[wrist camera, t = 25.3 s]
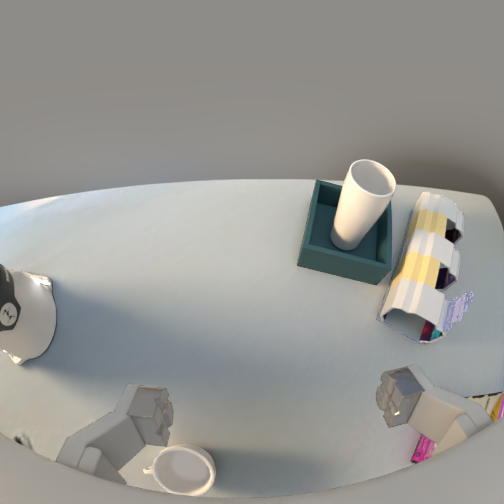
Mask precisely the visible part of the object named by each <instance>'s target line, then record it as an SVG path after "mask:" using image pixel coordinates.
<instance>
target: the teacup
mask: <svg viewBox="0 0 504 504" xmlns="http://www.w3.org/2000/svg"><path fill="white" fill-rule="evenodd" d="M143 471H144V473H146V474H153V475H154V477H155V479H156V481H157V482H158V483H159V485H160V486H161V487H162V488H164V489H165V490H166V491H168V492H170V493H172V494H179V495H187V496H200V495H202V494H204V493H206V492H207V491H208V490H209V489H210V488H211V487H212V485H213V483H214V481H215V477H216V467H215V464H214V460H213V458H212V457H211V455H210V454H209V453H208V452H206V451H205V450H204V449H202V448H200V447H198V446H196V445H193V444H177V445H173V446H170V447H167V448H165V449H164V450H162V451H161V452H160V453H159V454H158V455H157V456H156V458H155V459H154V462H153V467H147V468H145V469H144V470H143Z"/></svg>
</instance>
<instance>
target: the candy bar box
mask: <svg viewBox="0 0 504 504" xmlns="http://www.w3.org/2000/svg"><path fill="white" fill-rule="evenodd" d="M464 398H467V399H469V400H472V401H474V402H477V403H479V404H481V405H482V406H483V408H484V409H485V410H486V412H487V413H488V414H489V415H490V417H491V418H492V419H493V421H494V422H495V421H497V420H498V419H500V418H501V417H503V416H504V392H498V393H493V394H486V395H479V396H472V397H464ZM437 445H438V444H436V443H435V442H433V441H432V440H430V439H429V438H427V437H426V436H424V435H423V434H422V437H421V439H420V442H419V444H418V446H417V448H416V451H415V453H414V455H413V457H412V459H411V462H412V463H415V464H416V463H419V462H421V461H424V460H426V459H428V458H430V457H431V453H432V452H433V450H434V449H435V448H436V446H437Z"/></svg>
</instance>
